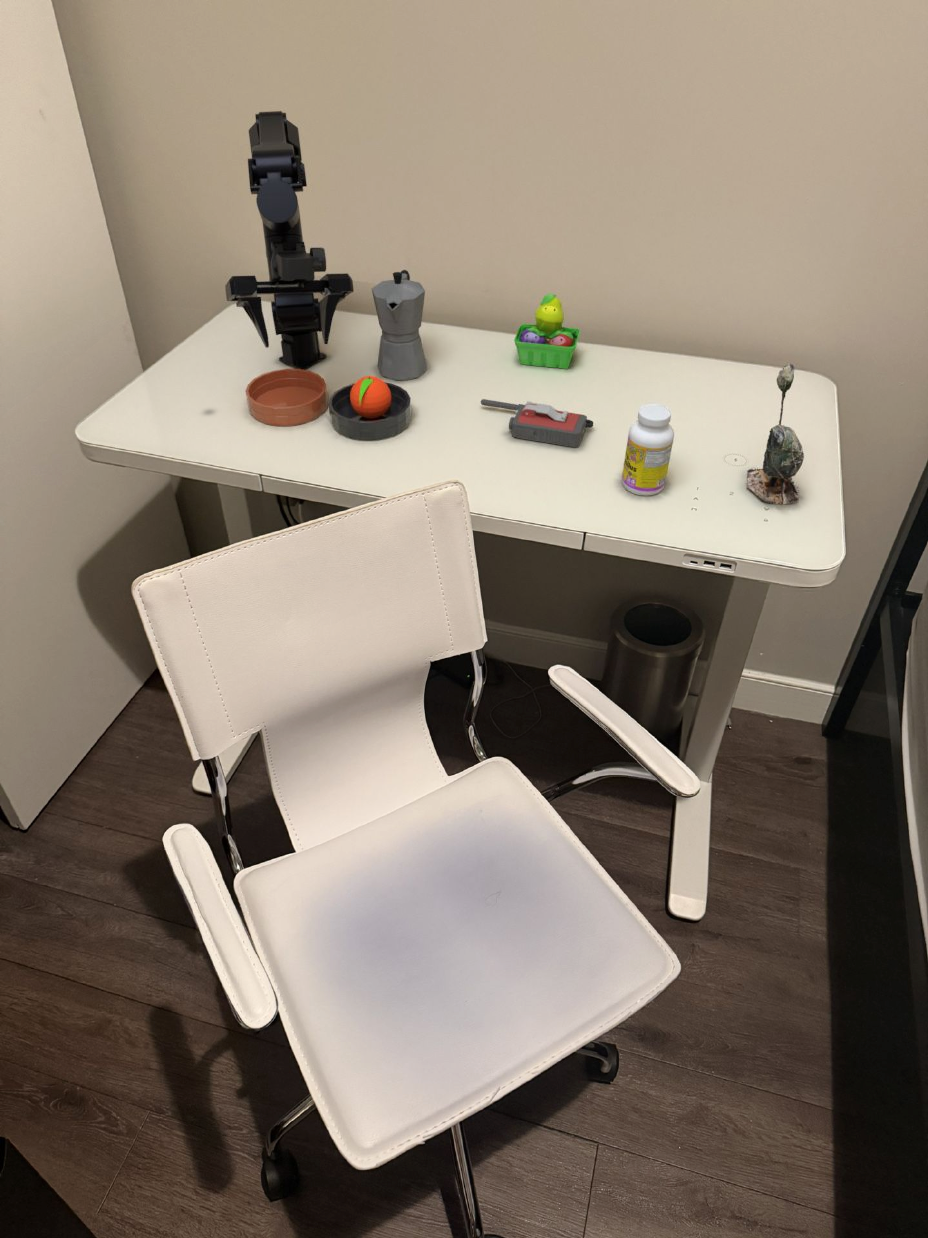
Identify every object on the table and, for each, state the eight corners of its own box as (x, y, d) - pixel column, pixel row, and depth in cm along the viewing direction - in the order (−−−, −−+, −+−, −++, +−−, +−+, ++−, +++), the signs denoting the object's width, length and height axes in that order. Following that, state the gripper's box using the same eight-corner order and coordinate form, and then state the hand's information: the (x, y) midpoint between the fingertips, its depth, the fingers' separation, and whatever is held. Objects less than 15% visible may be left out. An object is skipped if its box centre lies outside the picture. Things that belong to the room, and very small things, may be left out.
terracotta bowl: (288, 379, 162) (285, 361, 159) (344, 402, 156) (342, 383, 154) (232, 410, 154) (229, 392, 151) (289, 435, 148) (286, 416, 146)
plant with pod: (742, 509, 133) (773, 388, 119) (745, 468, 141) (776, 350, 127) (798, 518, 131) (837, 396, 118) (799, 476, 139) (835, 357, 125)
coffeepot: (422, 388, 160) (419, 289, 147) (370, 385, 160) (362, 287, 148) (433, 348, 171) (431, 253, 158) (385, 345, 171) (379, 251, 159)
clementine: (381, 432, 148) (378, 393, 143) (343, 425, 149) (338, 387, 144) (398, 408, 153) (396, 370, 148) (360, 402, 155) (357, 364, 150)
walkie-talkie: (595, 423, 151) (482, 405, 155) (598, 400, 148) (482, 382, 152) (584, 451, 145) (467, 431, 149) (587, 427, 142) (467, 407, 146)
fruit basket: (512, 366, 165) (514, 308, 157) (520, 345, 172) (523, 287, 164) (573, 373, 163) (578, 314, 156) (579, 351, 170) (584, 293, 162)
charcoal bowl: (366, 391, 159) (365, 373, 156) (427, 415, 153) (426, 396, 150) (314, 424, 151) (312, 405, 148) (376, 450, 145) (374, 431, 142)
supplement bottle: (617, 473, 140) (627, 400, 131) (658, 471, 140) (671, 398, 131) (626, 498, 135) (637, 424, 126) (669, 496, 135) (683, 422, 127)
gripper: (228, 226, 124) (243, 342, 128) (357, 225, 131) (368, 336, 134) (218, 244, 135) (233, 351, 138) (338, 242, 141) (349, 345, 144)
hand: (296, 345), depth 138 cm, fingers open, 9 cm apart
